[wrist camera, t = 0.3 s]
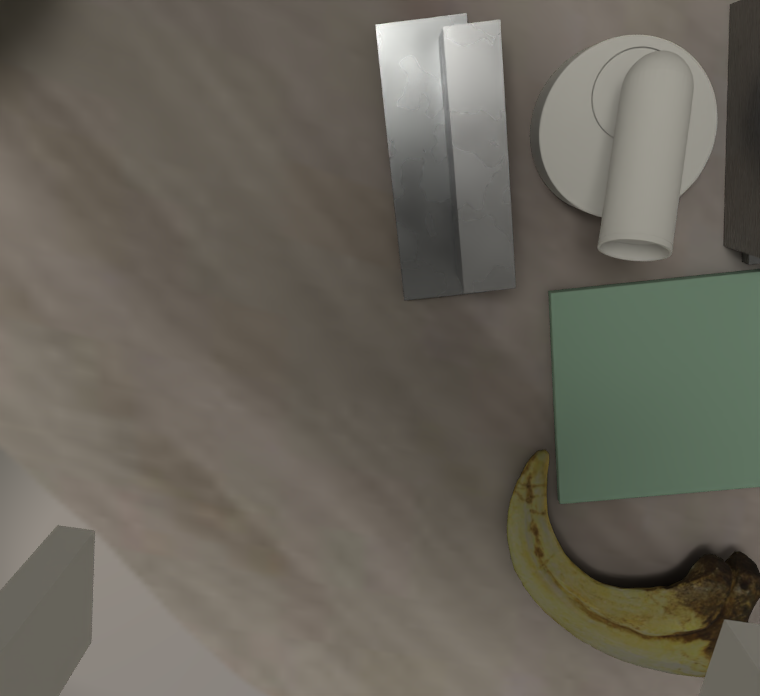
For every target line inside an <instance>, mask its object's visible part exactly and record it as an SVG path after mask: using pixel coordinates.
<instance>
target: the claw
mask: <svg viewBox="0 0 760 696" xmlns="http://www.w3.org/2000/svg"><path fill="white" fill-rule="evenodd" d="M548 465H549V453H548V452H547V451H546V450H545V449H544V450H539V451H537V452H536V453H535V454H534V455H533V456H532V457H531V458H530V459H529V461H528V462H527V464H526V466H525V468H524V470H523V472H522V473H521V476H520V478H519V479H518V481H517V483H516V485H515V488H514V491H513V495H512V498H511V500H510V505H509V510H508V520H507V539H508V545H509V550H510V555H511V559H512V563H513V566H514V570H515V572H516V573H517V575H518V577H519V578H520V580H521V581H522V583H523V586H524V587H525V589H526V590H527V591H528V593H529V594H530V595H531V597H532V598H533V599H534V601H535V602H536V603H537V604H538V605H539V606H540V607H541V608H542V609H543V611H544V612H545V613H547V614H548V615H549V616H550V617H551V618H553V619H554V620H555V621H556V622H557V623H558V624H560V625H561V626H562V627H564V628H565V629H566V630H567V631H569V632H570V633H571V634H573V635H574V636H575V637H576V638H578V639H580V640H581V641H583V642H585V643H587V644H590V645H591V646H592V647H593V648H595V649H598V650H600V651H602V652H604V653H606V654H608V655H610V656H612V657H614V658H617V659H620V660H622V661H625V662H628V663H631V664H634V665H638V666H641V667H645V668H649V669H653V670H658V671H662V672H666V673H671V674H677V675H686V676H695V677H705V675H706V672H707V669H708V666H709V663H710V660H711V658H712V655H713V652H714V649H715V646H716V643H717V640H718V637H719V634H720V631H721V628H722V625H723V622H724V620H732V621H739V622H746V623H748V619H749V616H750V614H751V612H752V610H753V608H754V606H755V604H756V602H757V601H758V599H759V598H760V573H759V570H758V568H757V565H756V564H755V563H754V562H753V561H752V560H751V559H750V558H749V557H747V556H746V555H745V554H743V553H742V552H734V553H733V554H732V555H731V556H730V557H729V558H728V559H727V560H726V561H725V562H724V560H723V559H721V558H719V557H717V556H716V555H713V554H707V555H704V556H702V557H701V558H700V559H699V560H698V561H697V562H696V563H695V564H694V565H693V566H692V568H691V569H690V571H689V573H688V574H687V576H686V577H685V578H684V579H682V580H681V581H678V582H676V583H674V584H672V585H670V586H669V587H664V586H657V587H652V588H620V587H615V586H611V585H607V584H604V583H601V582H598V581H596V580H594V579H593V578H591V577H590V576H588V575H587V574H586V573H585V572H583V571H582V570H581V569H579V568H578V567H577V566H576V565H575V564H574V563H573V562H572V561H571V560H570V559H569V558H568V557H567V556H566V554H565V553H564V551H563V550H562V548H561V546H560V544H559V542H558V540H557V538H556V536H555V534H554V531H553V529H552V527H551V524H550V521H549V516H548V512H547V472H548Z"/></svg>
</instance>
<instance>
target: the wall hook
mask: <svg viewBox="0 0 760 696" xmlns="http://www.w3.org/2000/svg"><path fill="white" fill-rule="evenodd" d="M717 120H718V115H717V104H716V98H715V94H714V91H713V88H712V85H711V83H710V80H709V78H708V76H707V75H706V73H705V71H704V70H703V68H702V67H701V65H700V64H699V63H698V62H697V61H696V60H695V59H694V58H693V57H692V56H691V55H690V54H689V53H688V52H687V51H686V50H684V49H683V48H681V47H680V46H678V45H676V44H674V43H672V42H670V41H668V40H665V39H662V38H659V37H655V36H649V35H624V36H619V37H615V38H611V39H608V40H605V41H602V42H600V43H598V44H596V45H593V46H591V47H589V48H587V49H585V50H583V51H581V52H579V53H577V54H576V55H574V56H572V57H571V58H570V59H568V60H567V61H566V62H565V63H563V64H562V65H561V66H560V67H559V68H558V69H557V70H556V71H555V72H554V73H553V75H552V76H551V77H550V78H549V80H548V81H547V83H546V84H545V86H544V87H543V89H542V91H541V93H540V95H539V97H538V99H537V101H536V104H535V107H534V110H533V114H532V119H531V125H530V146H531V152H532V157H533V160H534V163H535V166H536V168H537V171H538V173H539V175H540V177H541V178H542V180H543V181H544V183H545V184H546V185H547V187H548V188H549V189H550V190H551V191H552V192H553V193H554V194H555V195H556V196H557V197H558V198H560V199H561V200H562V201H564V202H565V203H567V204H569V205H571V206H572V207H575V208H577V209H579V210H582V211H584V212H587V213H589V214H592V215H595V216H598V217H602V220H601V227H600V234H599V241H598V250H599V251H600V252H602V253H603V254H605V255H607V256H610V257H614V258H618V259H623V260H629V261H656V260H662V259H665V258H668V257H669V256H671V254H672V248H673V241H674V234H675V226H676V219H677V211H678V204H679V197H680V196H681V195H682V194H683V193H684V192H685V191H686V190H687V189H688V188H689V187H690V186H691V185H692V184H693V183H694V181H695V180H696V179H697V178H698V176H699V175H700V173H701V172H702V170H703V168H704V167H705V165H706V163H707V161H708V159H709V156H710V154H711V151H712V149H713V145H714V142H715V137H716V132H717Z"/></svg>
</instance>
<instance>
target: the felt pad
mask: <svg viewBox="0 0 760 696" xmlns="http://www.w3.org/2000/svg"><path fill="white" fill-rule="evenodd" d="M548 293H549V315H550V337H551V359H552V381H553V403H554V425H555V448H556V470H557V492H558V501H559V503H560V504H567V503H578V502H590V501H602V500H613V499H625V498H636V497H648V496H659V495H671V494H683V493H694V492H706V491H717V490H729V489H741V488H752V487H760V269H755V270H746V271H736V272H726V273H717V274H707V275H697V276H688V277H678V278H668V279H659V280H649V281H639V282H630V283H620V284H611V285H601V286H591V287H582V288H572V289H562V290H553V291H548Z"/></svg>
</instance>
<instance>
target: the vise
mask: <svg viewBox="0 0 760 696" xmlns="http://www.w3.org/2000/svg"><path fill="white" fill-rule="evenodd" d="M376 35H377V44H378V54H379V63H380V73H381V82H382V92H383V101H384V111H385V120H386V130H387V139H388V149H389V158H390V168H391V177H392V187H393V196H394V206H395V216H396V225H397V235H398V244H399V254H400V263H401V273H402V282H403V292H404V300H413V299H422V298H432V297H441V296H451V295H461V294H470V293H480V292H486V291H493V290H503V289H512V288H516V281H515V264H514V247H513V230H512V213H511V195H510V178H509V161H508V144H507V127H506V110H505V93H504V76H503V59H502V42H501V25H500V20H492V21H484V22H476V23H468V24H467V13H464V14H456V15H448V16H440V17H432V18H424V19H417V20H409V21H401V22H393V23H385V24H377V25H376ZM724 246H726V247H729V248H732V249H735V250H738V251H740V252H742V262H743V263H746V264H759V263H760V0H740V1H738V2H735V3H732V4H730V27H729V64H728V101H727V138H726V175H725V212H724Z"/></svg>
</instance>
